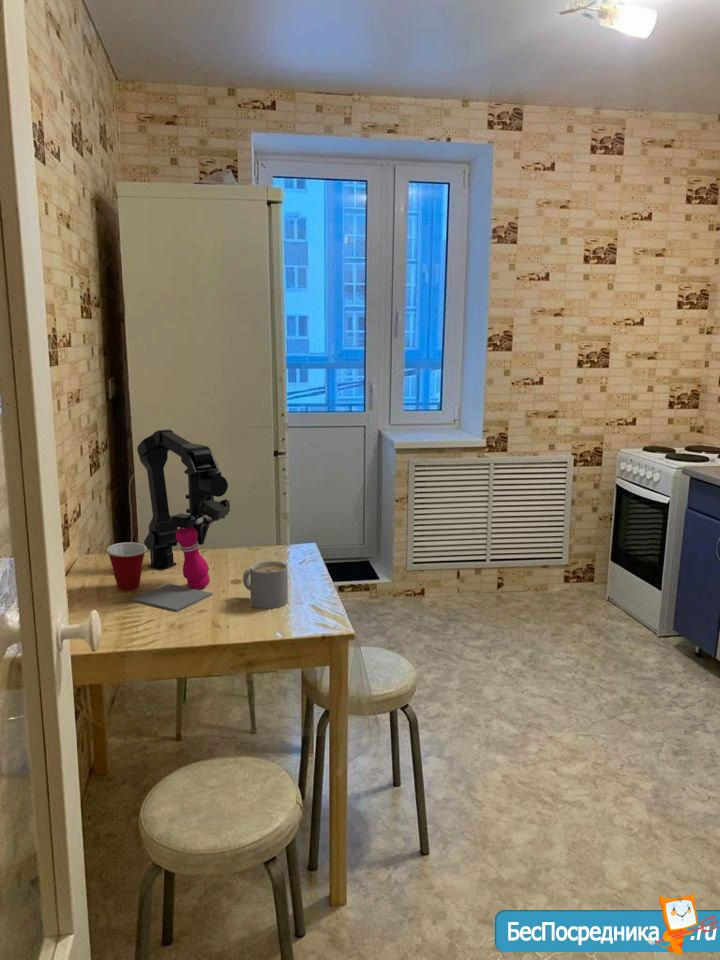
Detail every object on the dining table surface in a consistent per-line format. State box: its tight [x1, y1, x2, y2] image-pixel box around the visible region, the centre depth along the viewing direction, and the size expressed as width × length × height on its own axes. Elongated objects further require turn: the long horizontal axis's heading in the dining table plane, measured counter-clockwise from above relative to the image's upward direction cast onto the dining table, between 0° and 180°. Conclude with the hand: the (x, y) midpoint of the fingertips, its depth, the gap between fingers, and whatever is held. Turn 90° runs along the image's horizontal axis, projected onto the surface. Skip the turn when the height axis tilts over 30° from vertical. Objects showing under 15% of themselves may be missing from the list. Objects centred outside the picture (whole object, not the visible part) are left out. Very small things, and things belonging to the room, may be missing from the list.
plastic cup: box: [106, 541, 148, 592], centre depth 197 cm, size 11×11×12 cm
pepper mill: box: [176, 527, 211, 590], centre depth 196 cm, size 7×7×20 cm
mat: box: [131, 583, 213, 613], centre depth 191 cm, size 16×14×1 cm
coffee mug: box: [242, 560, 289, 610], centre depth 189 cm, size 13×10×10 cm
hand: (201, 544), depth 199 cm, fingers closed
